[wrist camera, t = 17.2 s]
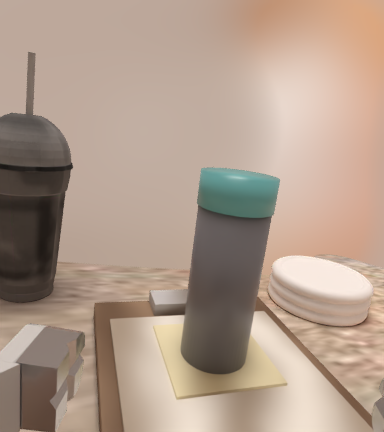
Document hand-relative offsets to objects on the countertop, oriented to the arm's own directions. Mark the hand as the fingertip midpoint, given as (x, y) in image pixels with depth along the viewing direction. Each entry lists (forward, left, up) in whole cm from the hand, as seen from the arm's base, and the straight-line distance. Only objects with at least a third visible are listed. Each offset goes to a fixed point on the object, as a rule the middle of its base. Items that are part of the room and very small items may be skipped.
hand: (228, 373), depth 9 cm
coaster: (+20, +20, -10) cm, 30 cm away
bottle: (+5, +11, -8) cm, 15 cm away
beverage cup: (-8, +24, -10) cm, 28 cm away
